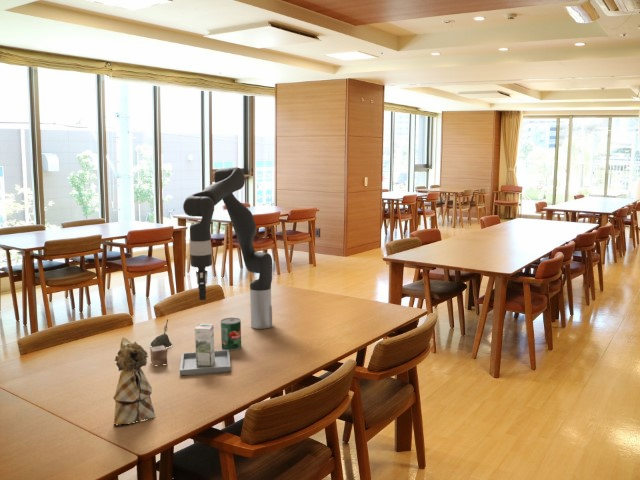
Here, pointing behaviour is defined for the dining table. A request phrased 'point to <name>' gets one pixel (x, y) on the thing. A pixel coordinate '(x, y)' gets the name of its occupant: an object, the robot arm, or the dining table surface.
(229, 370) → the slate tray
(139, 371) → the plush toy
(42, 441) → the dining table surface
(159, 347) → the walnut block
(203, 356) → the syrup box
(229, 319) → the canned tomato
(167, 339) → the sword in stone
